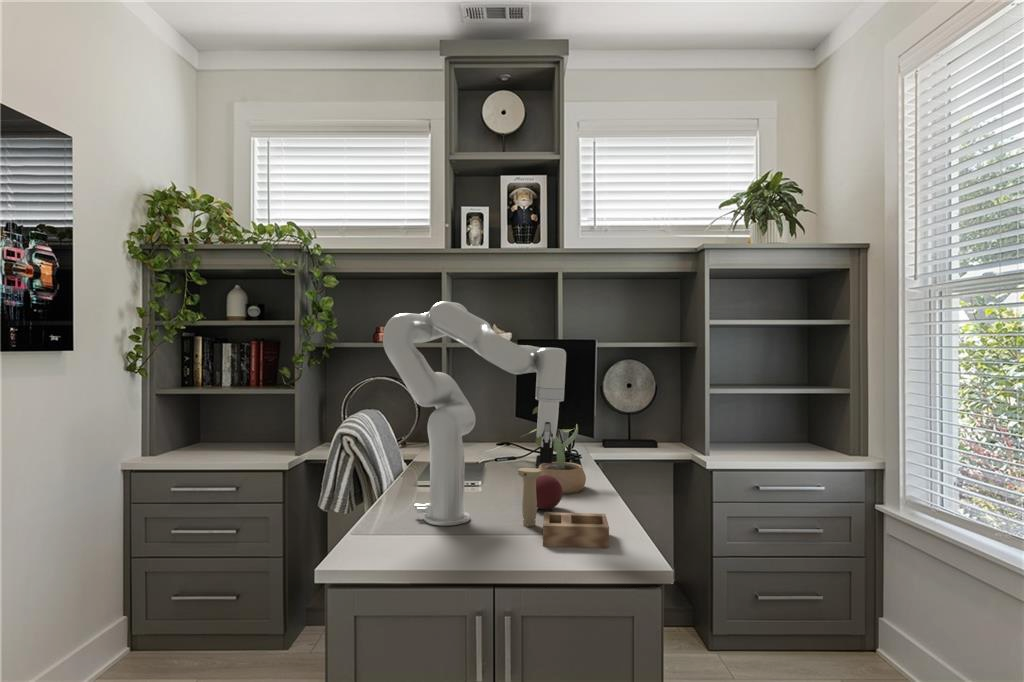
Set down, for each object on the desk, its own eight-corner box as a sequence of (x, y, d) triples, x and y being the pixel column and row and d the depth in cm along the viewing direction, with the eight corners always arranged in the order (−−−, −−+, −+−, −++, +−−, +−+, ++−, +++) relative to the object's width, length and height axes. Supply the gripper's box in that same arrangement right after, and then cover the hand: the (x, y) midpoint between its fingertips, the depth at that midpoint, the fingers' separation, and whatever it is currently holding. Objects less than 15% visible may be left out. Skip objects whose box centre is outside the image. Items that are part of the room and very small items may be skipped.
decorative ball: (568, 511, 190) (568, 477, 190) (538, 515, 185) (538, 480, 185) (551, 503, 199) (551, 470, 199) (522, 506, 194) (522, 473, 194)
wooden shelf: (542, 546, 158) (542, 525, 158) (543, 531, 170) (543, 512, 170) (608, 548, 157) (609, 527, 157) (605, 532, 169) (605, 513, 169)
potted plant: (590, 484, 224) (591, 397, 224) (580, 496, 207) (581, 402, 207) (527, 479, 231) (528, 395, 230) (513, 491, 214) (513, 400, 213)
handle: (535, 529, 172) (535, 472, 172) (514, 525, 175) (514, 470, 175) (544, 524, 176) (544, 469, 176) (523, 521, 179) (524, 467, 179)
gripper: (537, 390, 180) (534, 451, 180) (533, 397, 162) (530, 464, 163) (564, 392, 179) (561, 453, 179) (563, 398, 162) (560, 467, 162)
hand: (546, 459), depth 171 cm, fingers open, 9 cm apart
